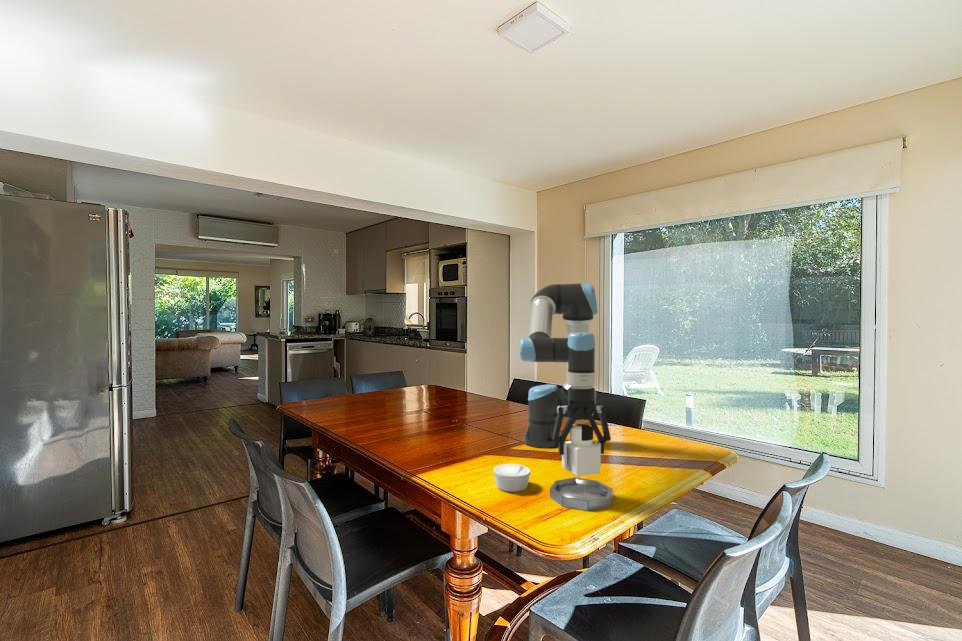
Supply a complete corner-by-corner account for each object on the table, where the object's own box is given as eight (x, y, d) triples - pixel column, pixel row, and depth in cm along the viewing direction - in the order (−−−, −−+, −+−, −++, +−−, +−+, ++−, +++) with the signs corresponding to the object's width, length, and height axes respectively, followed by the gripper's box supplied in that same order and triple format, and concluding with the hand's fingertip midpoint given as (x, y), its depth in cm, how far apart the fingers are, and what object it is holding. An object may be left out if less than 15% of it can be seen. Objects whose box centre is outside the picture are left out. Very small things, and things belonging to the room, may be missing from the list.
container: (585, 465, 134) (585, 421, 134) (600, 473, 127) (600, 427, 127) (562, 468, 132) (562, 423, 132) (577, 476, 124) (577, 429, 124)
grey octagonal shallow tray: (545, 503, 125) (545, 494, 125) (559, 483, 141) (559, 475, 141) (606, 513, 119) (606, 504, 119) (614, 491, 134) (614, 483, 134)
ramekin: (536, 491, 134) (536, 473, 134) (500, 496, 131) (500, 477, 131) (522, 478, 145) (522, 462, 145) (488, 482, 142) (488, 465, 142)
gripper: (546, 389, 125) (546, 470, 125) (623, 388, 126) (623, 469, 126) (541, 385, 132) (541, 461, 133) (614, 384, 134) (614, 460, 134)
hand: (581, 465), depth 129 cm, fingers closed on container, 9 cm apart
